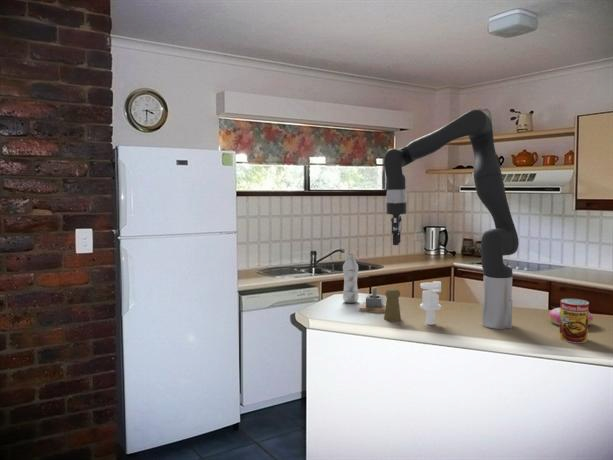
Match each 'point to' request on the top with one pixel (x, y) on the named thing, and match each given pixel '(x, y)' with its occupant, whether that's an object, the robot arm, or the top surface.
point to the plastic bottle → (350, 279)
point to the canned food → (574, 320)
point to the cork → (392, 305)
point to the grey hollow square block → (374, 301)
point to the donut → (555, 316)
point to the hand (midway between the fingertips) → (396, 243)
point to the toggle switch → (372, 309)
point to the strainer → (430, 300)
